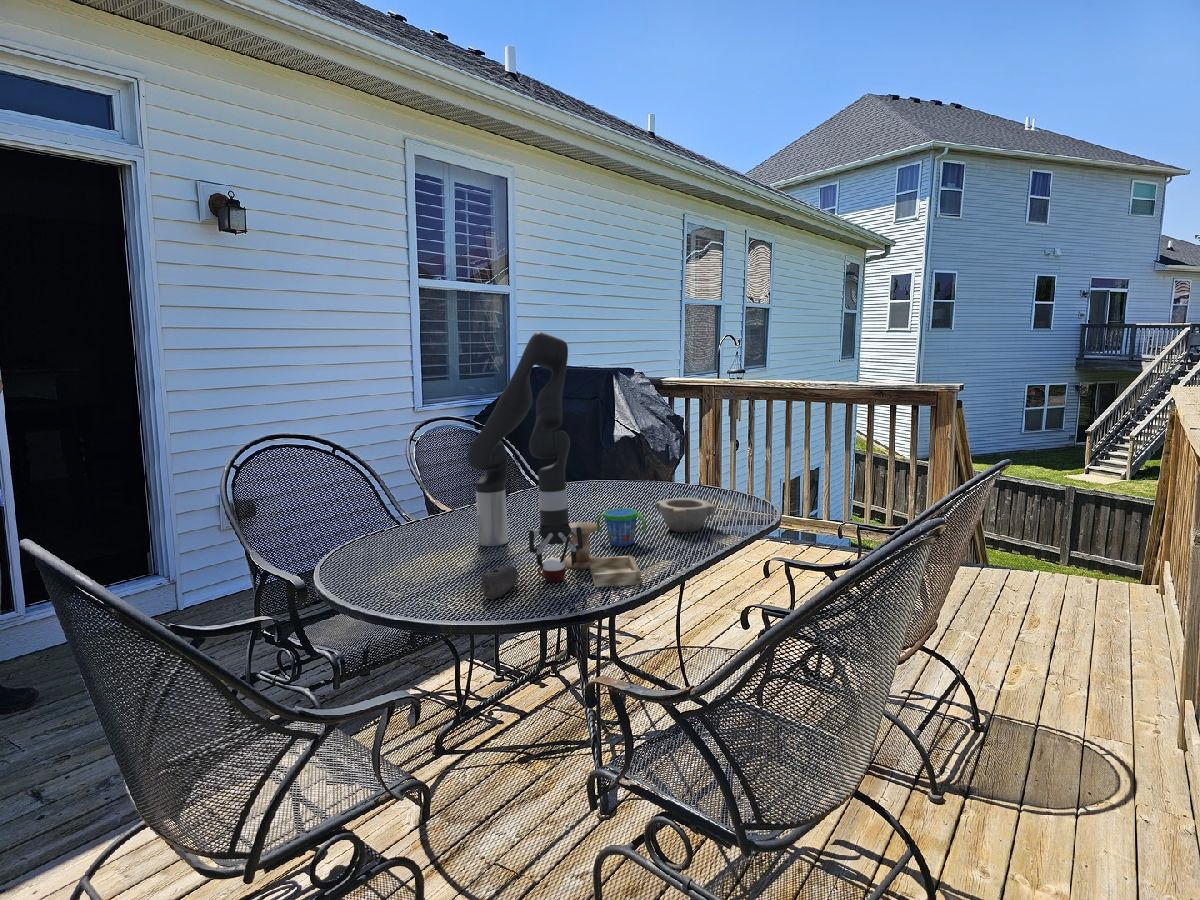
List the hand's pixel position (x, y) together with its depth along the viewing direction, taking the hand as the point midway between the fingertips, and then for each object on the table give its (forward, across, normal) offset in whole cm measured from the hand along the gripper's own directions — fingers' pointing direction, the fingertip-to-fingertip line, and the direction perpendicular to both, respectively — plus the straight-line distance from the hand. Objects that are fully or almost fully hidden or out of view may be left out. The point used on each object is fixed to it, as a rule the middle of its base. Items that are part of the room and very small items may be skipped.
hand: (557, 565), depth 195 cm
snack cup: (+4, +21, +31) cm, 38 cm away
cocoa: (+4, -1, 0) cm, 4 cm away
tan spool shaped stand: (+4, +7, +13) cm, 15 cm away
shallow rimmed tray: (+4, +15, 0) cm, 16 cm away
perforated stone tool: (+4, -15, -7) cm, 17 cm away
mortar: (+5, +44, +43) cm, 62 cm away
